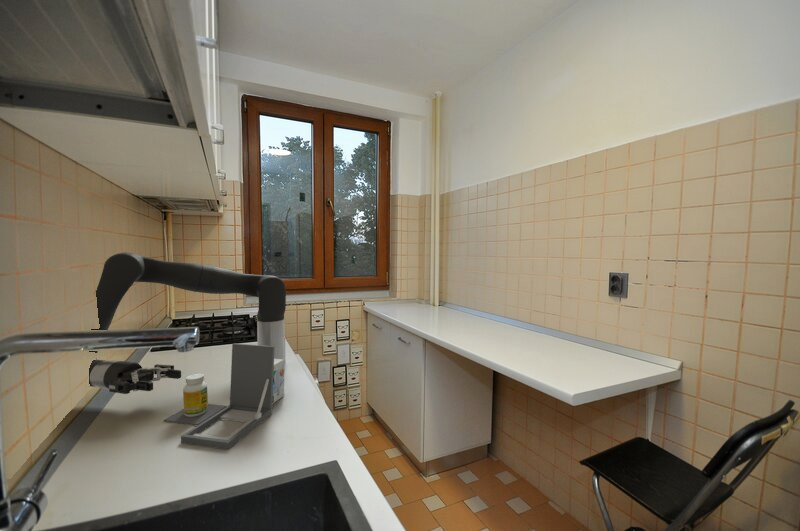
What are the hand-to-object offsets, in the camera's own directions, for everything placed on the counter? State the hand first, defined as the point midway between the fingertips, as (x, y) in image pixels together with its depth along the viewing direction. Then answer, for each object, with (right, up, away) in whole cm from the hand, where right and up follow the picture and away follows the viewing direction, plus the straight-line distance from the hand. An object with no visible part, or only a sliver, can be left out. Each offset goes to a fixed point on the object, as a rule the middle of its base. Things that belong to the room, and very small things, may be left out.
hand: (166, 380), depth 90 cm
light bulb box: (+23, -8, +6) cm, 25 cm away
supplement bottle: (+8, -8, -1) cm, 12 cm away
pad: (+9, -8, -1) cm, 12 cm away
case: (+21, -9, -8) cm, 24 cm away
